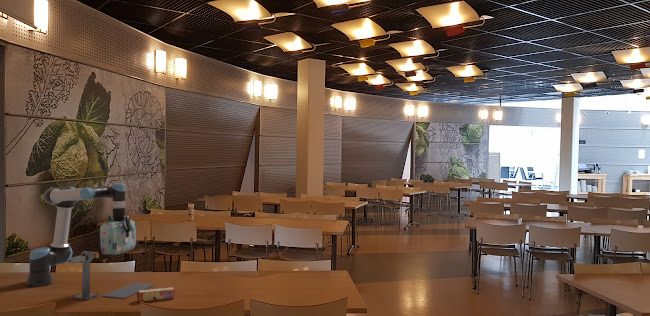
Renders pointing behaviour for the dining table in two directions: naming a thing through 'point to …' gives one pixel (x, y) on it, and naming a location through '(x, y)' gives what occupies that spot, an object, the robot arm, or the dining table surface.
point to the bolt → (84, 257)
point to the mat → (128, 290)
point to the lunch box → (116, 238)
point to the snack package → (156, 294)
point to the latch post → (86, 279)
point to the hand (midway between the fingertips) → (118, 241)
